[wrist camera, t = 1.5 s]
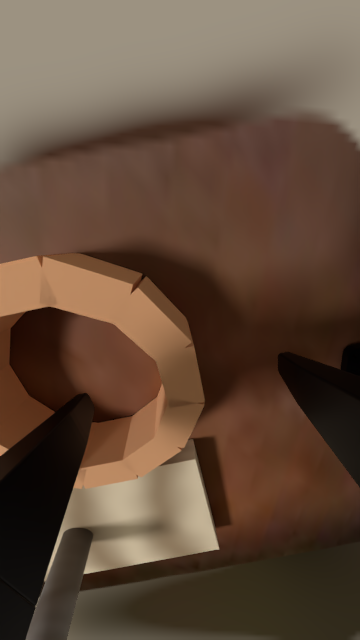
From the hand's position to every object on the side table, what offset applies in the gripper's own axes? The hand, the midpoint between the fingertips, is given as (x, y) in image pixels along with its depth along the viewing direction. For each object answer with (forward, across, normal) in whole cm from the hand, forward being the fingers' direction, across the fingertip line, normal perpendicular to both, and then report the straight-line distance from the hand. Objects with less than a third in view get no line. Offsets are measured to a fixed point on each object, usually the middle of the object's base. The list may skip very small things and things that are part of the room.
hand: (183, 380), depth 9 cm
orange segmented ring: (+3, +6, 0) cm, 6 cm away
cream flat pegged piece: (+3, +10, +14) cm, 18 cm away
